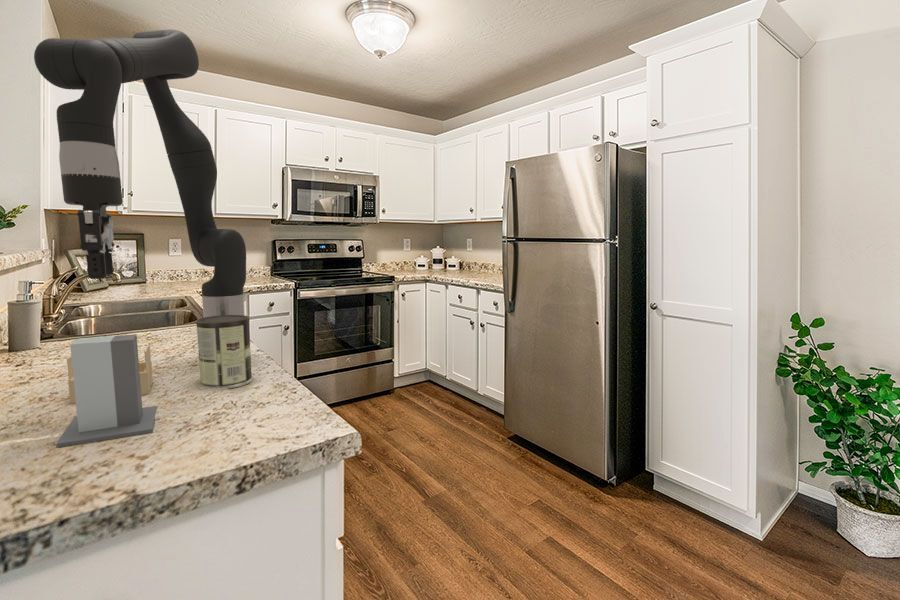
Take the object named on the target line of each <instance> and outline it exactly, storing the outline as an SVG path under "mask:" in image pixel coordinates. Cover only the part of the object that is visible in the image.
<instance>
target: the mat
mask: <svg viewBox="0 0 900 600" xmlns="http://www.w3.org/2000/svg"><path fill="white" fill-rule="evenodd" d="M157 409H158V405H153V406H145V407H142V411H143V414H142V417H141V421H140V423H138V424H132V425H125V426H118V427H111V428H105V429H98V430H91V431H85V432H79V430H78V420H77V416H74V417H73V419H72V420H70V423H69V424H68V426H67V427H66V428H65V430H64V432H63V433H62V435H61V436H60V437H59V439H58V441H57V442H56V443H55V446H56V447H55V448H57V447H58V448H64V447H70V445H71V446H76V444H77V445H82V444H88V443H89V444H90V443H95V442H96V443H97V442H101V441H108V440H112V439H113V440H114V439H120V438H126V437H132V436H138V435H146V434H151V433H154V432H153V431H154V427H155V422H156V415H157V414H156V413H157V411H158V410H157ZM63 446H64V447H63Z"/></svg>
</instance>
